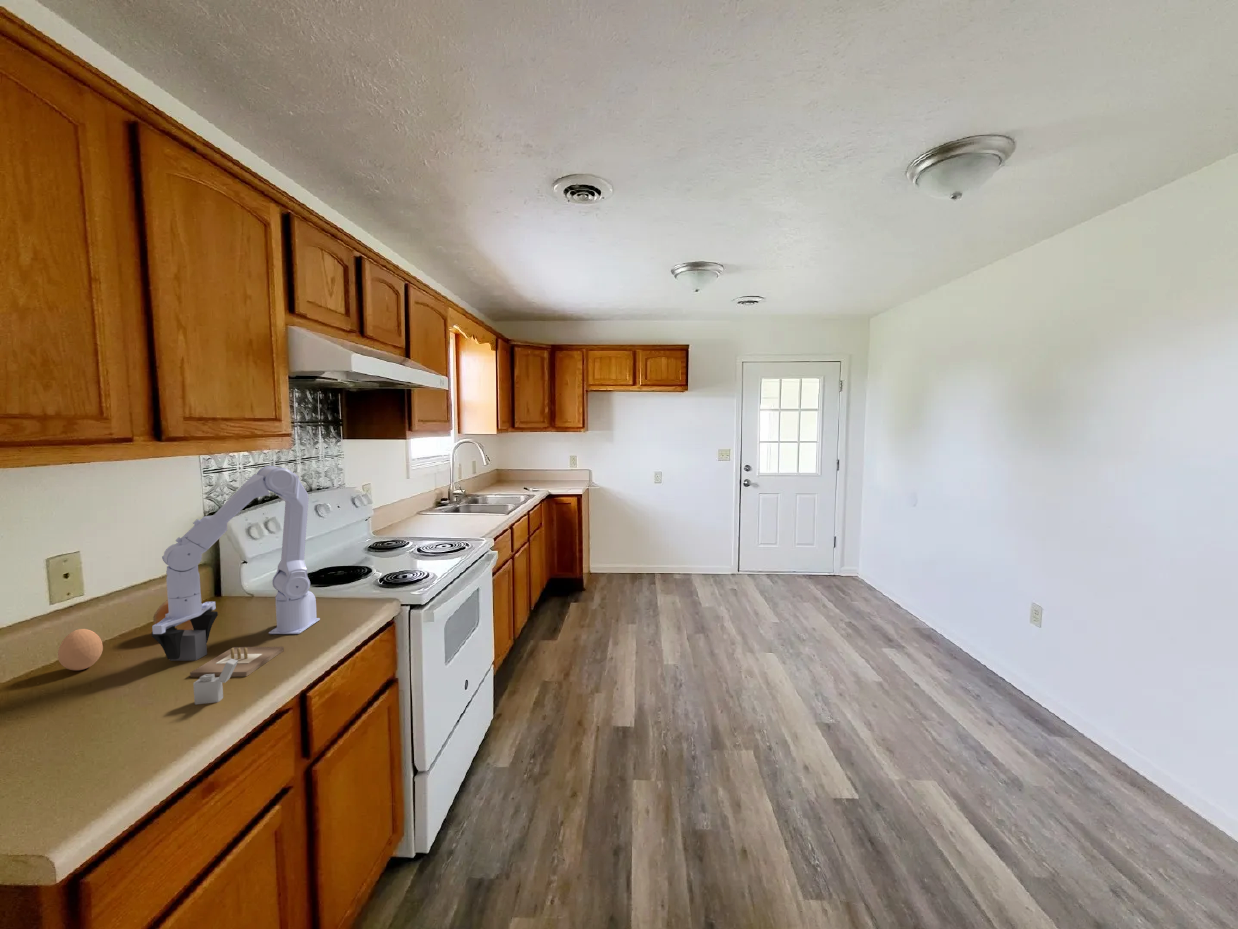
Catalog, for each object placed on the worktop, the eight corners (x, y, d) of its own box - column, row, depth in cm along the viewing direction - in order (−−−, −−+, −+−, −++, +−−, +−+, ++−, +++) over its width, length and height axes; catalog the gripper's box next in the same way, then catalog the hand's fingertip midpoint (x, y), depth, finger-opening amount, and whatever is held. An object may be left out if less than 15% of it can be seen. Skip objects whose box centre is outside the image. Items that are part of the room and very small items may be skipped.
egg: (112, 662, 110) (109, 624, 109) (77, 677, 103) (74, 636, 102) (86, 661, 110) (83, 623, 109) (50, 676, 103) (46, 635, 103)
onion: (147, 636, 123) (145, 598, 123) (195, 622, 132) (193, 587, 131) (164, 644, 119) (161, 605, 118) (212, 629, 128) (210, 593, 127)
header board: (233, 651, 115) (232, 637, 115) (283, 650, 116) (283, 636, 115) (190, 677, 103) (189, 661, 103) (246, 676, 104) (245, 661, 103)
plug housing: (181, 654, 113) (179, 630, 113) (207, 654, 114) (205, 630, 113) (169, 660, 110) (168, 635, 110) (196, 660, 111) (194, 635, 110)
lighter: (194, 704, 93) (191, 665, 92) (199, 699, 95) (197, 661, 94) (235, 700, 95) (233, 661, 94) (240, 695, 96) (238, 657, 96)
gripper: (193, 584, 118) (197, 637, 119) (136, 606, 104) (140, 666, 105) (222, 584, 118) (226, 637, 119) (169, 606, 104) (173, 666, 105)
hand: (188, 650), depth 112 cm, fingers open, 7 cm apart
